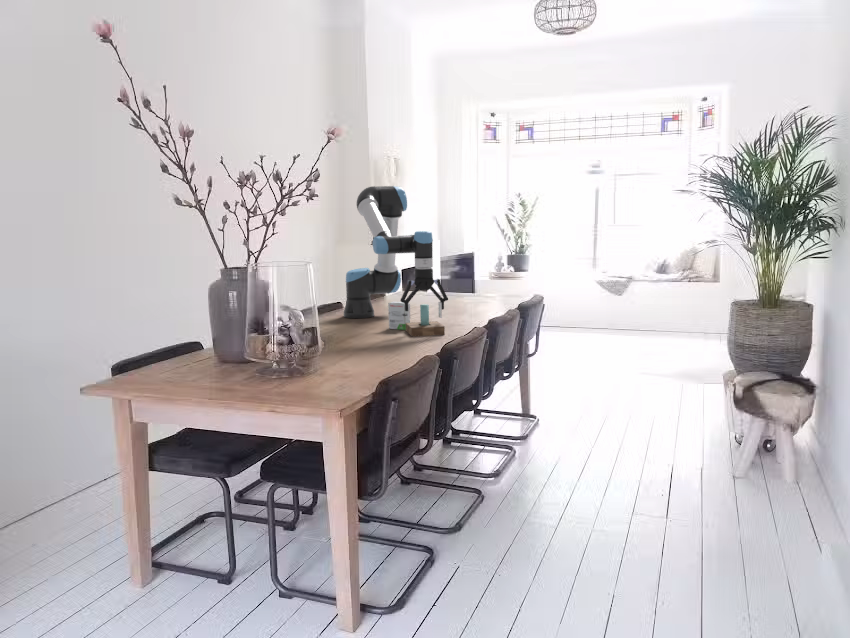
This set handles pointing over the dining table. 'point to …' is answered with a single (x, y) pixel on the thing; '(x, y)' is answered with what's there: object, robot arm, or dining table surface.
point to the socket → (425, 329)
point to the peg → (424, 314)
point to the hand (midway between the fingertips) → (424, 318)
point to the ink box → (397, 315)
